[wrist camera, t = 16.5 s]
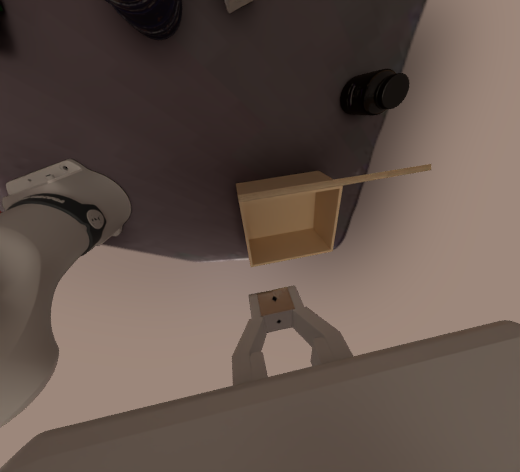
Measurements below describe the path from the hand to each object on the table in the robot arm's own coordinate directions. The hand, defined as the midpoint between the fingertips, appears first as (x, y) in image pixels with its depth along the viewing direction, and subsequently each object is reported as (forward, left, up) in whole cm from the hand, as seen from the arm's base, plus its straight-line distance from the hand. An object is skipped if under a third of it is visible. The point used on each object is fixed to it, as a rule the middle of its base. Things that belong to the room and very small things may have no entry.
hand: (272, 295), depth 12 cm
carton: (+10, -14, -39) cm, 43 cm away
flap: (+10, -1, -19) cm, 21 cm away
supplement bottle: (+28, +10, -39) cm, 49 cm away
